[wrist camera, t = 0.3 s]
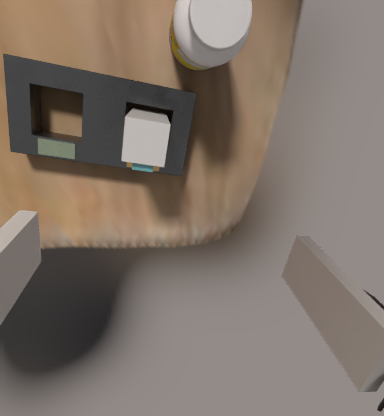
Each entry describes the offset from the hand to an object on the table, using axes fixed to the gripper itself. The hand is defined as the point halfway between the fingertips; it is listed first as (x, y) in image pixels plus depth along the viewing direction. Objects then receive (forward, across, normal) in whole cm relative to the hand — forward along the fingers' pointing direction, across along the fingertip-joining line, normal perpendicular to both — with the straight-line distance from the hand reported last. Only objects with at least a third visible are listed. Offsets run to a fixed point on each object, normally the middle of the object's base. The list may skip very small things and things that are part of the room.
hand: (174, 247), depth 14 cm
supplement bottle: (+25, +2, +13) cm, 28 cm away
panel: (+24, -7, +2) cm, 25 cm away
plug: (+24, -2, +2) cm, 25 cm away
